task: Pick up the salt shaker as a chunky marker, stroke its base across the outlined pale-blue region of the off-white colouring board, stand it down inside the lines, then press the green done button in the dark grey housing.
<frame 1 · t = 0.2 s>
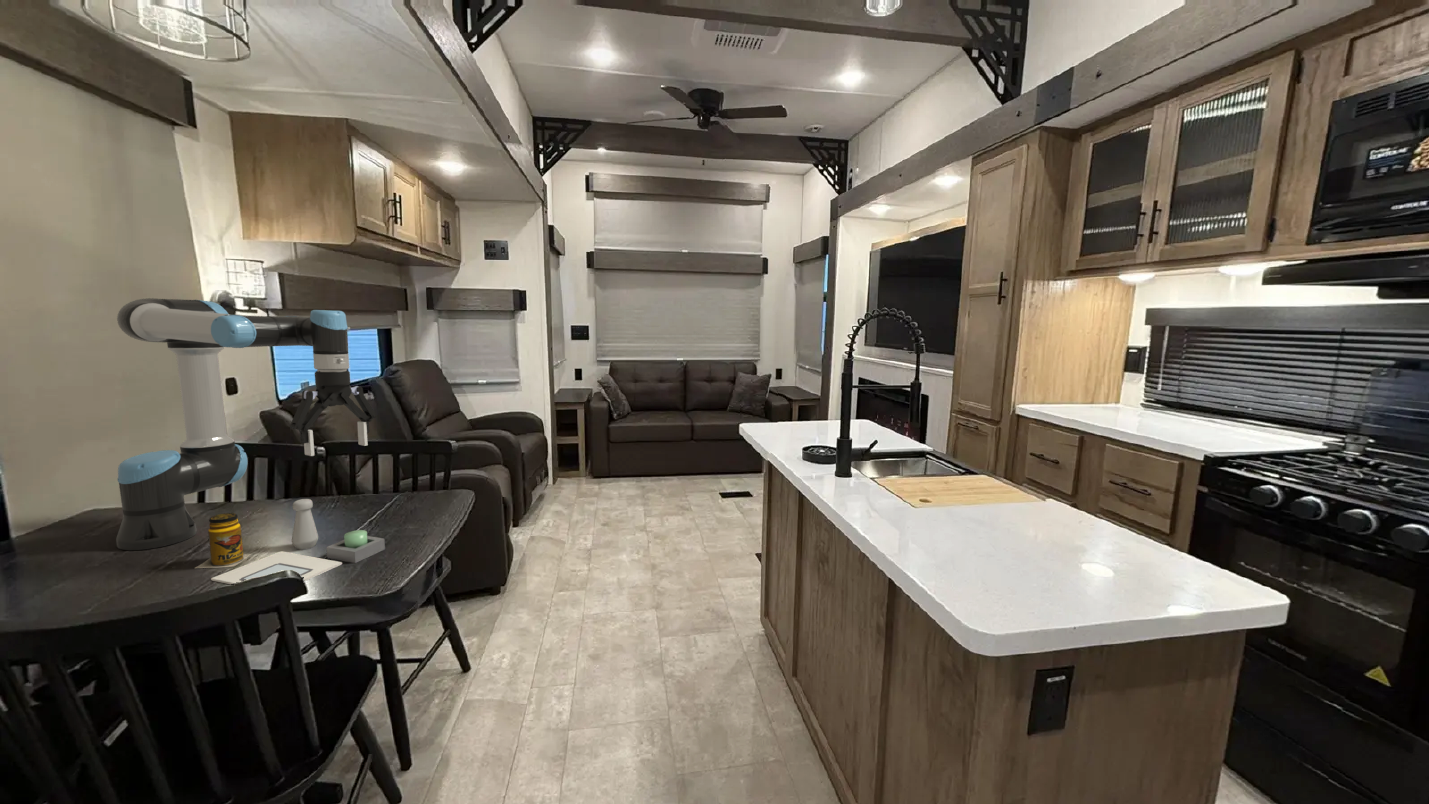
hand: (337, 449, 144), 27 cm above the table, fingers open, 13 cm apart
condiment: (224, 562, 136), on the table
colouring board: (279, 571, 131), on the table
done button: (356, 540, 142), point 4 cm above the table, slide at 0.0 cm
salt shaker: (305, 547, 146), on the table
button housing: (356, 553, 143), on the table
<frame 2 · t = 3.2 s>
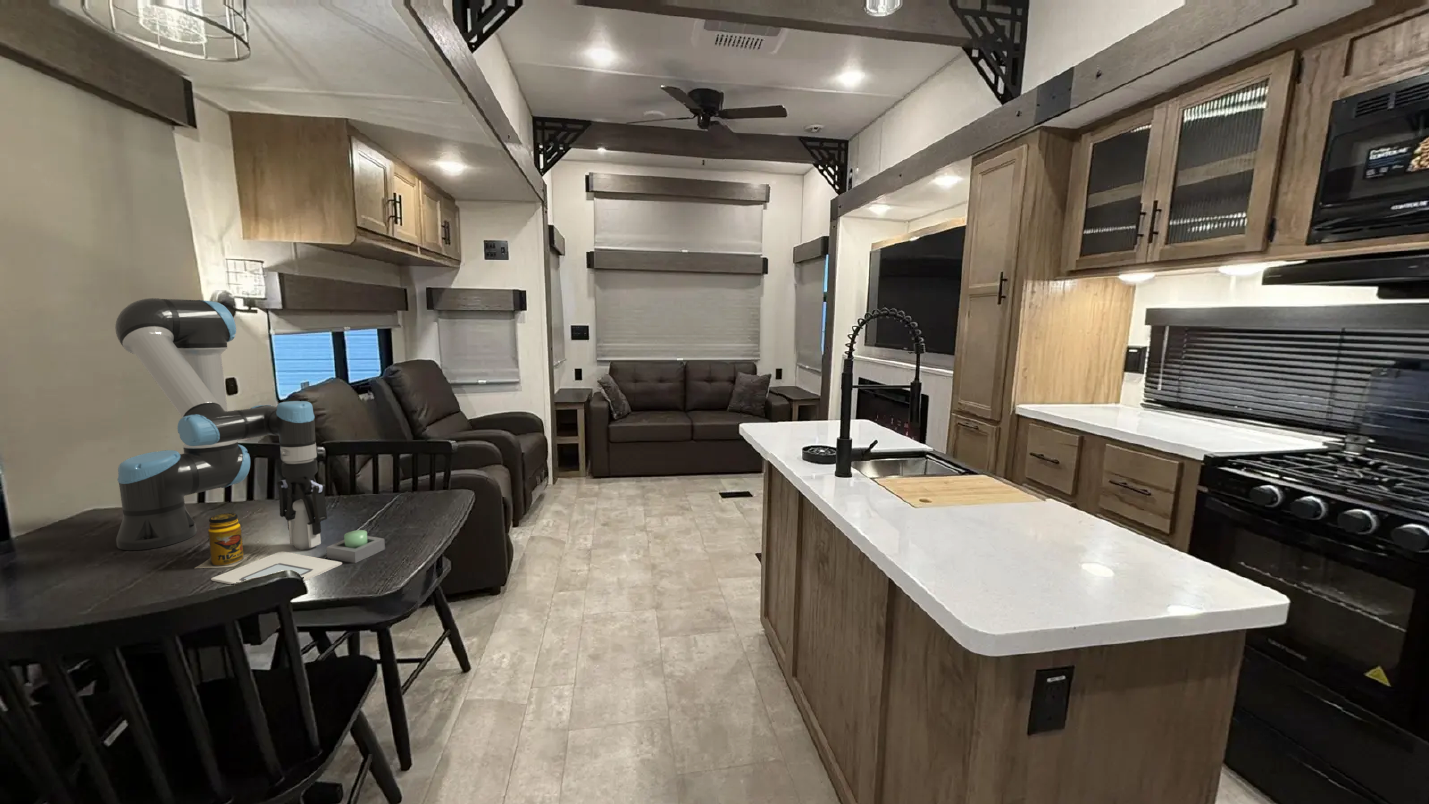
hand: (305, 543, 146), 1 cm above the table, fingers closed on salt shaker, 6 cm apart
salt shaker: (305, 547, 146), on the table, touching gripper
everything else where it was.
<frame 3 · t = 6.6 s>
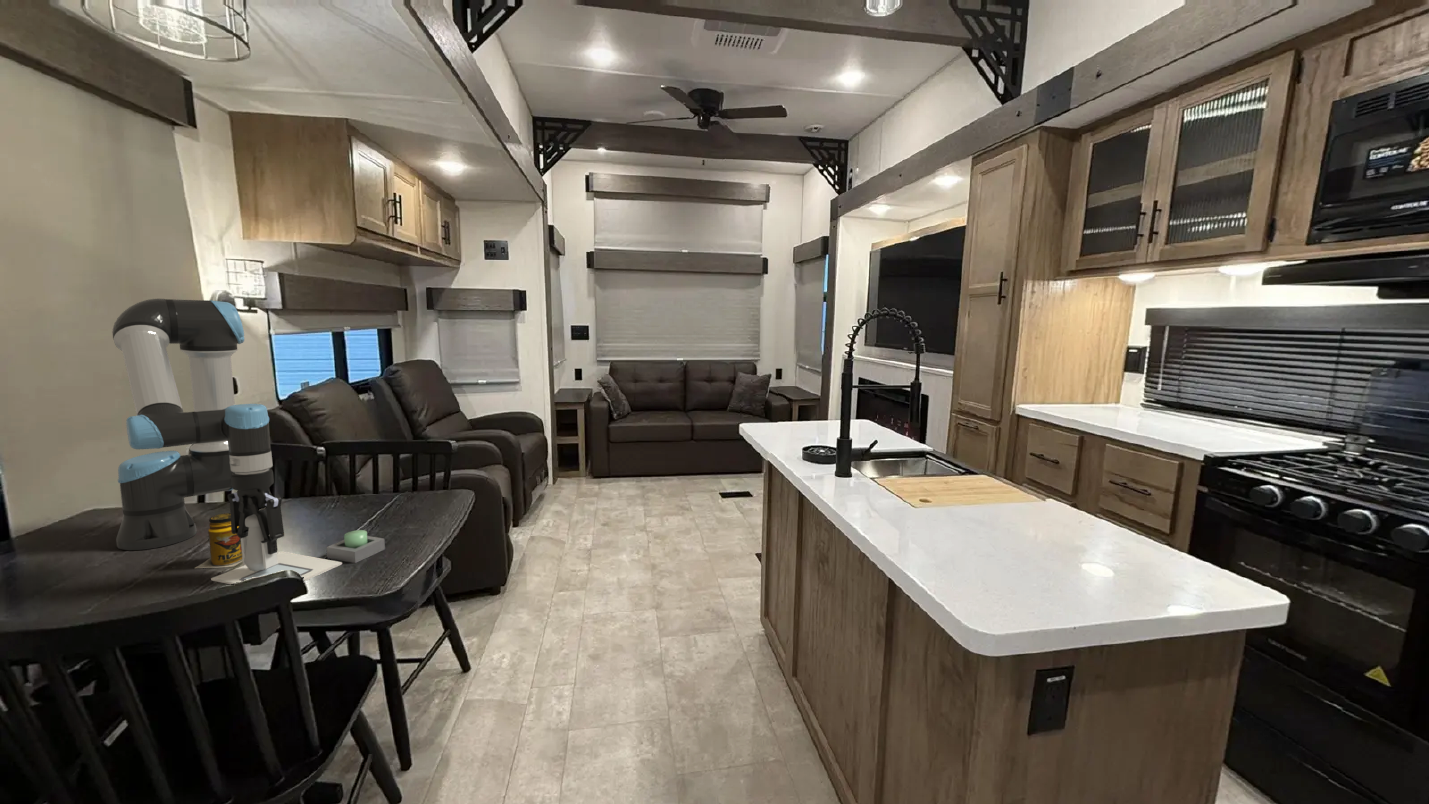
hand: (260, 563, 130), 3 cm above the table, fingers closed on salt shaker, 6 cm apart
salt shaker: (260, 568, 130), point 1 cm above the table, touching gripper
everything else where it was.
when the fingers open (2 cm above the table, at t = 10.4 s): salt shaker stays where it is, resting on colouring board.
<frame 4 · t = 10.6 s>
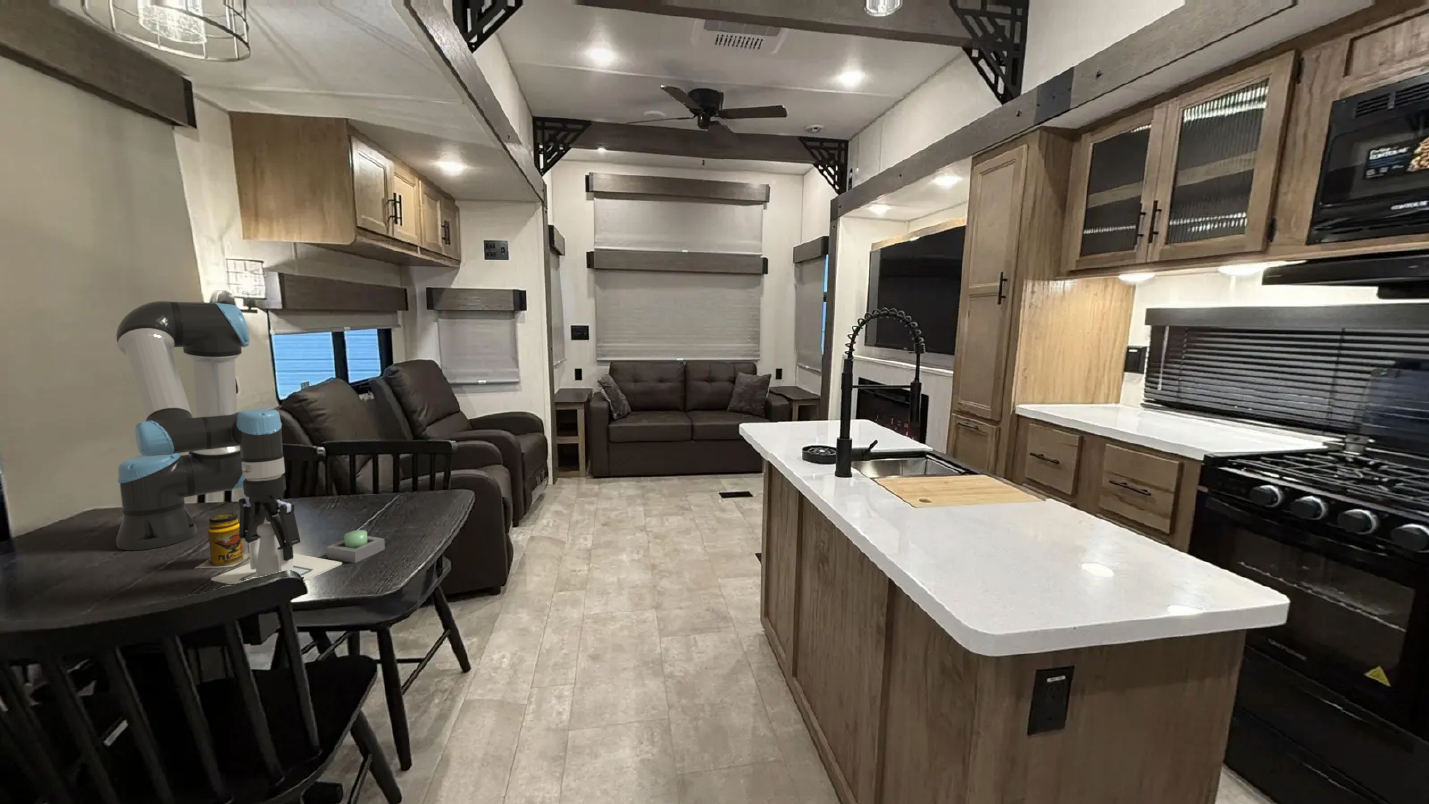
hand: (272, 569, 128), 2 cm above the table, fingers open, 8 cm apart
salt shaker: (272, 576, 128), resting on colouring board
everything else where it was.
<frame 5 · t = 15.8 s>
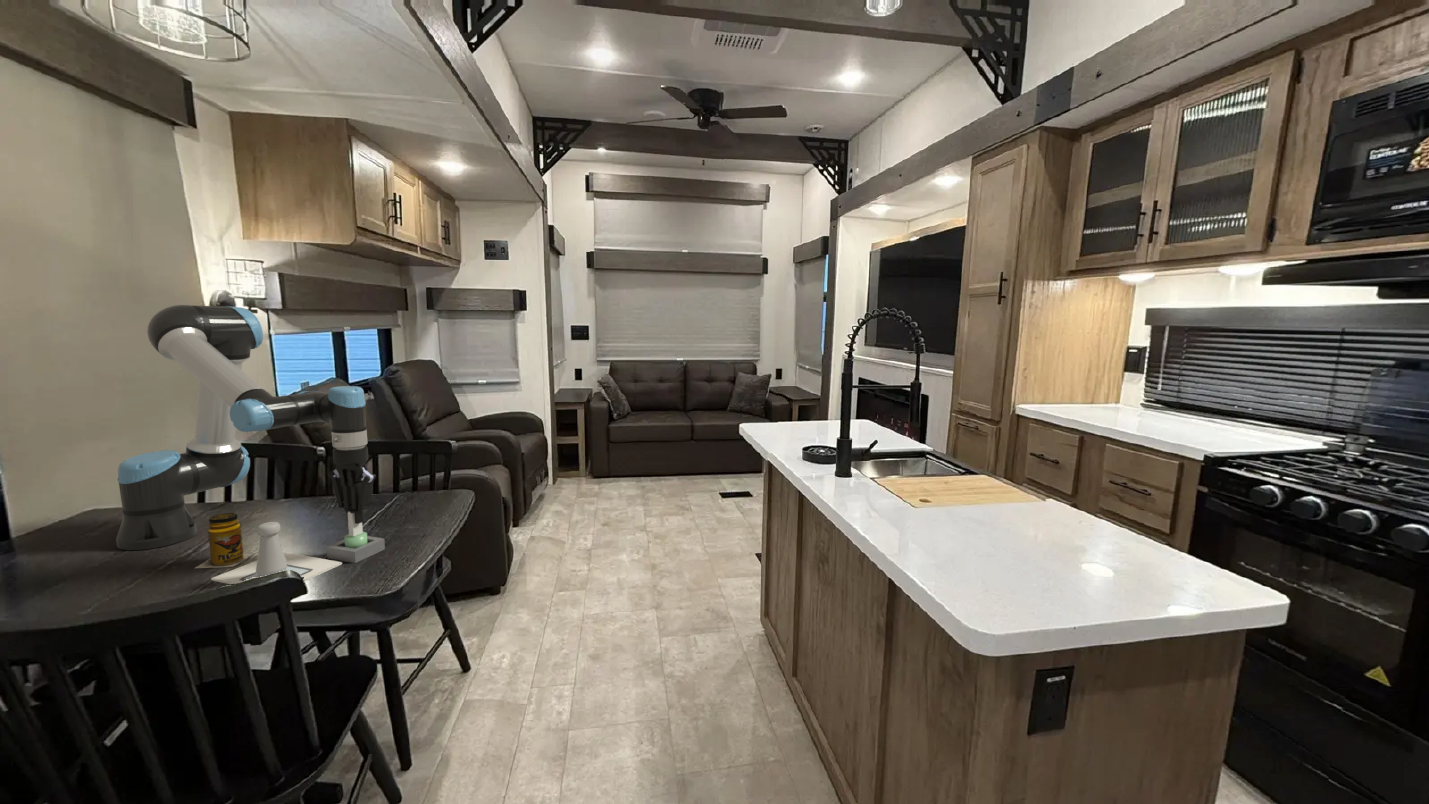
hand: (355, 534, 142), 5 cm above the table, fingers closed
done button: (356, 542, 143), point 3 cm above the table, slide at -0.4 cm, touching gripper
everything else where it was.
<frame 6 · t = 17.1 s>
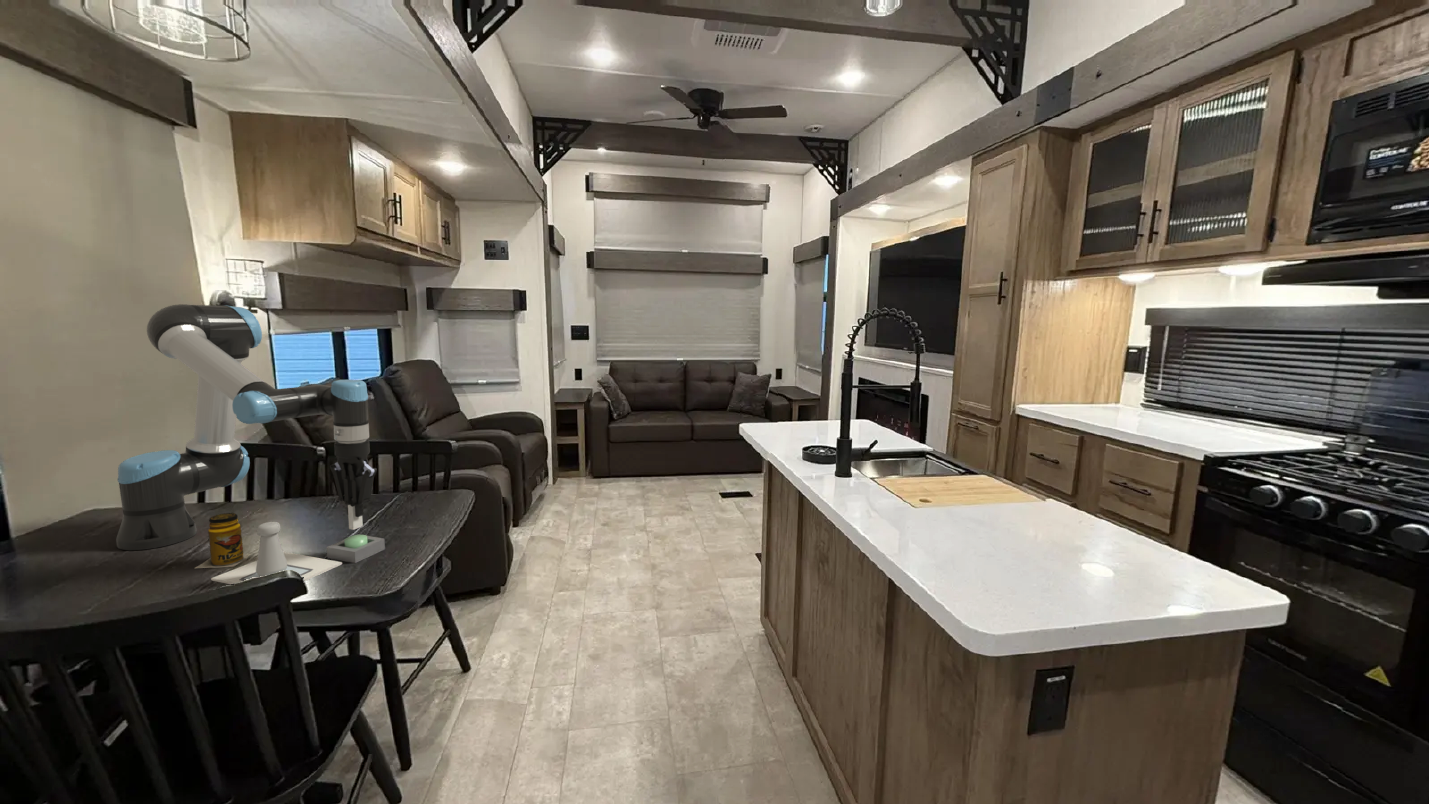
hand: (355, 527, 143), 7 cm above the table, fingers closed
done button: (356, 545, 143), point 2 cm above the table, slide at -1.3 cm
everything else where it was.
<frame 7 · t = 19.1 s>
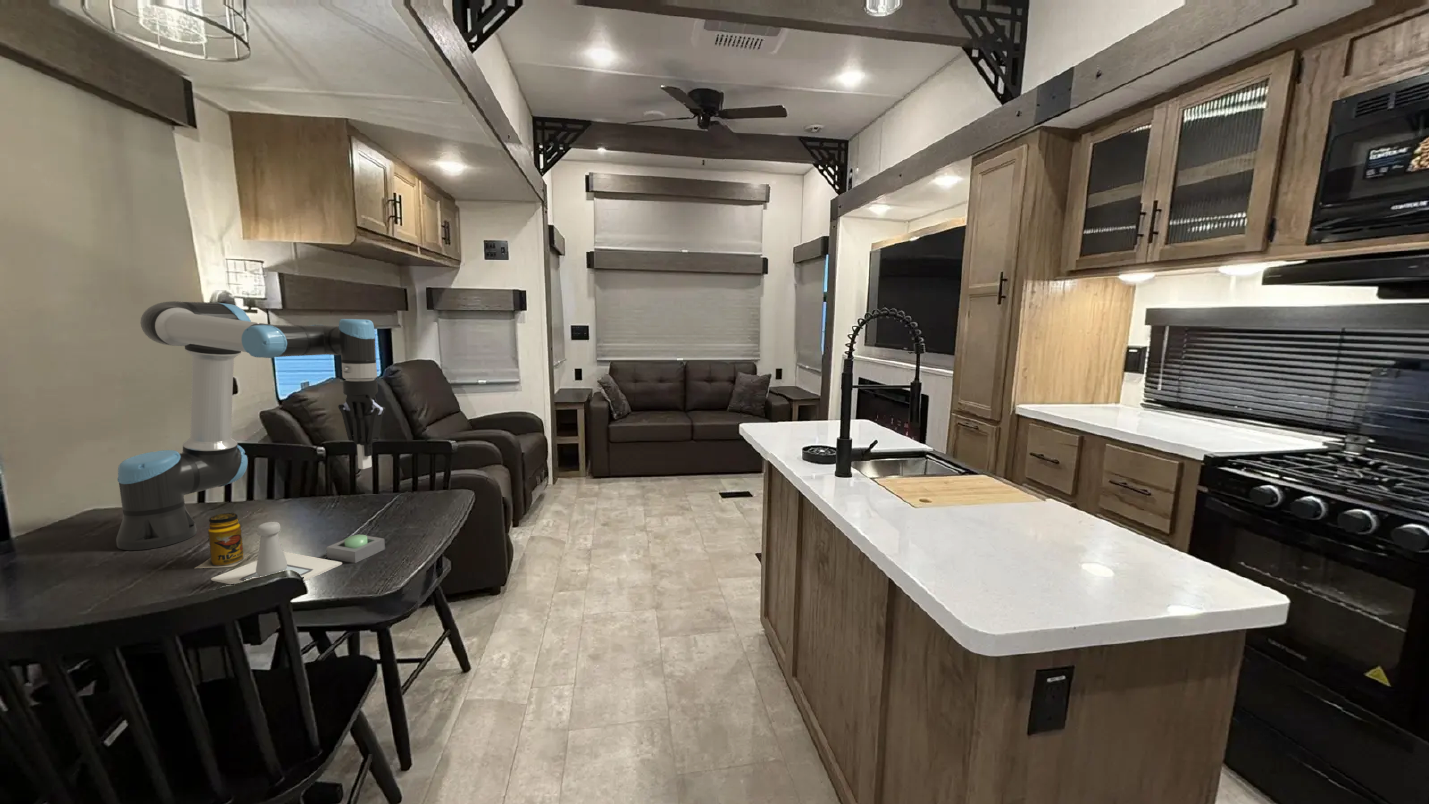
hand: (365, 467, 144), 22 cm above the table, fingers closed
nothing on the table moved.
at the end: salt shaker inside the target area (1.0 cm from its centre), resting on colouring board; salt shaker tilted 0°; done button slide at -1.3 cm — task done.
